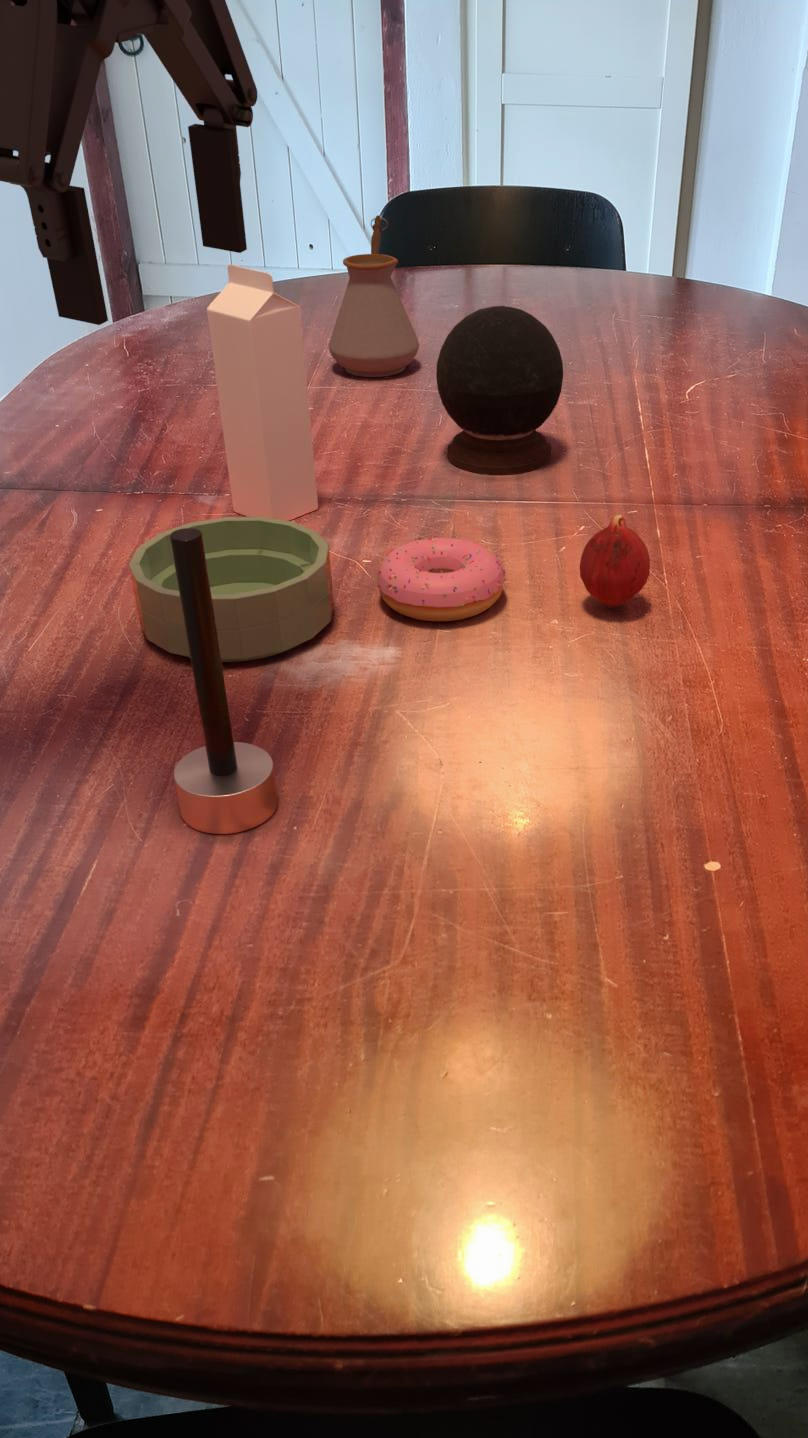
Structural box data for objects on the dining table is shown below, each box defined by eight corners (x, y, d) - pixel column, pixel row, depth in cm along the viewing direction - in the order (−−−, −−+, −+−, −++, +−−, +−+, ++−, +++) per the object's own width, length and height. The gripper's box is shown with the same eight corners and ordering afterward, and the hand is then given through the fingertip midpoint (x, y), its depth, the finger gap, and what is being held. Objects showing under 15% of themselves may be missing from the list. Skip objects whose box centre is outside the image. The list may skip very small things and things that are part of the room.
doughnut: (409, 564, 111) (406, 520, 109) (523, 583, 108) (524, 538, 105) (355, 616, 103) (352, 570, 101) (478, 638, 100) (477, 591, 97)
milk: (273, 528, 118) (244, 281, 104) (232, 512, 121) (199, 270, 108) (320, 509, 122) (298, 267, 108) (279, 493, 125) (252, 257, 111)
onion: (643, 625, 102) (651, 533, 97) (574, 620, 102) (578, 528, 98) (648, 594, 106) (656, 504, 101) (582, 589, 107) (586, 500, 102)
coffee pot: (417, 382, 153) (412, 250, 144) (325, 382, 153) (314, 251, 144) (426, 334, 170) (422, 214, 161) (343, 334, 170) (335, 214, 161)
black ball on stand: (412, 456, 133) (407, 308, 124) (498, 426, 140) (498, 284, 131) (500, 488, 126) (501, 333, 116) (585, 454, 133) (592, 307, 124)
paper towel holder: (161, 821, 80) (105, 547, 69) (213, 770, 85) (169, 505, 73) (246, 843, 79) (203, 565, 67) (295, 790, 83) (263, 521, 72)
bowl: (105, 648, 99) (90, 579, 96) (209, 570, 111) (199, 506, 107) (274, 683, 94) (266, 612, 91) (365, 598, 106) (360, 532, 102)
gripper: (-43, -188, 47) (71, 367, 62) (297, -209, 64) (324, 231, 78) (-189, -196, 49) (-46, 341, 64) (176, -215, 66) (225, 214, 81)
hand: (158, 281), depth 71 cm, fingers open, 13 cm apart
